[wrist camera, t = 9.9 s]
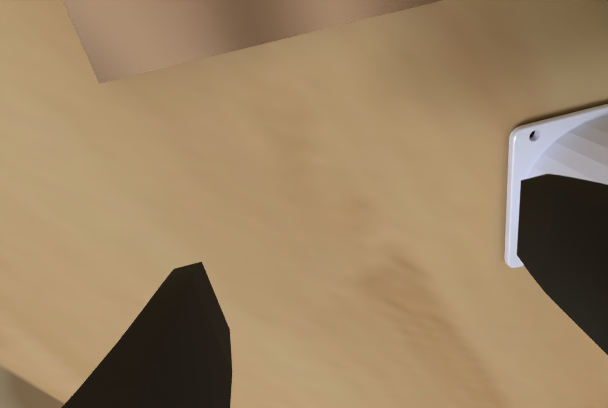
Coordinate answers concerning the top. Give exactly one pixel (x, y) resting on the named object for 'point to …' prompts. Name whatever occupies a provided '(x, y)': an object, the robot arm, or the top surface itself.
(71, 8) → the peg plate
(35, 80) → the top surface
